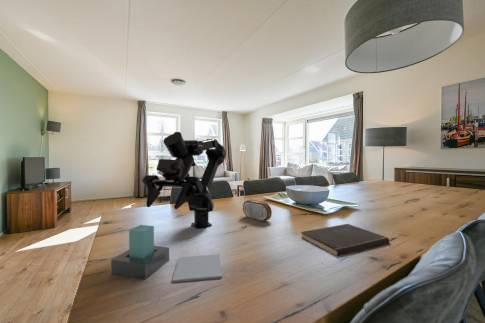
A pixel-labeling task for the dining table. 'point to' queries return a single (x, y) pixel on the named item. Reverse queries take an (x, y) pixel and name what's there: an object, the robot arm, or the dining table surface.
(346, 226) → the hardcover book
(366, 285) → the dining table surface
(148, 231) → the peg
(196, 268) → the mat
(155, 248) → the socket block
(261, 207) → the portable speaker
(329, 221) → the dining table surface
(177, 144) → the robot arm
